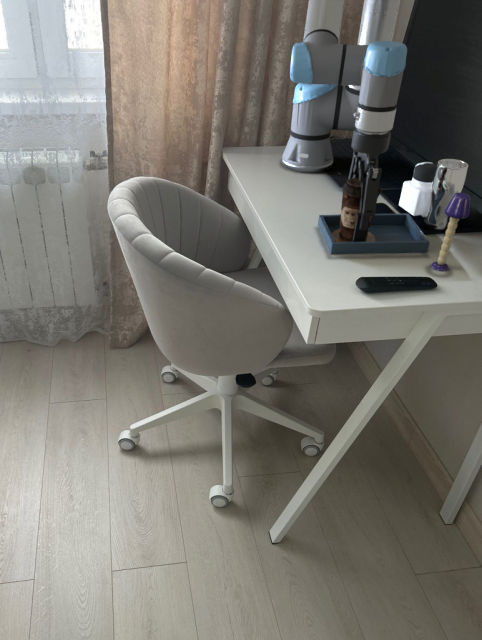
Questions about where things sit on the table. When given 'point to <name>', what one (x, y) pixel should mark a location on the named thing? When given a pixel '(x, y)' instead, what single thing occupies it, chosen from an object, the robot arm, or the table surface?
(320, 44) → the robot arm
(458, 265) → the table surface
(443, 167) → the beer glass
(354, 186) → the coffee cup
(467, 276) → the table surface
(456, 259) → the table surface
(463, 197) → the toy lamp
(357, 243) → the tray
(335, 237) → the coaster
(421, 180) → the medicine bottle
